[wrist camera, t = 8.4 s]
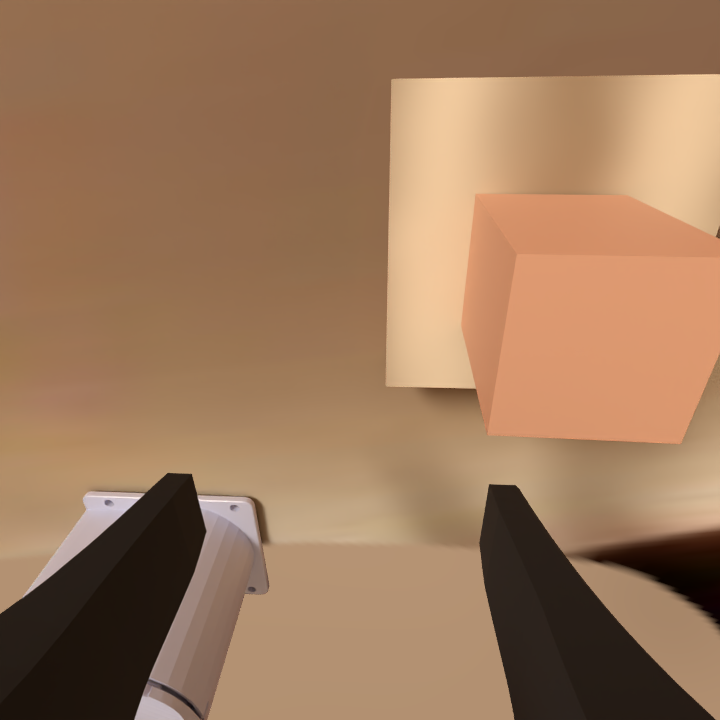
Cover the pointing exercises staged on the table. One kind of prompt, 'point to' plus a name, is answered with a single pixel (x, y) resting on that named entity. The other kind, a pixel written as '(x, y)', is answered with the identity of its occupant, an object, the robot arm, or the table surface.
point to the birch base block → (525, 181)
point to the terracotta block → (589, 317)
